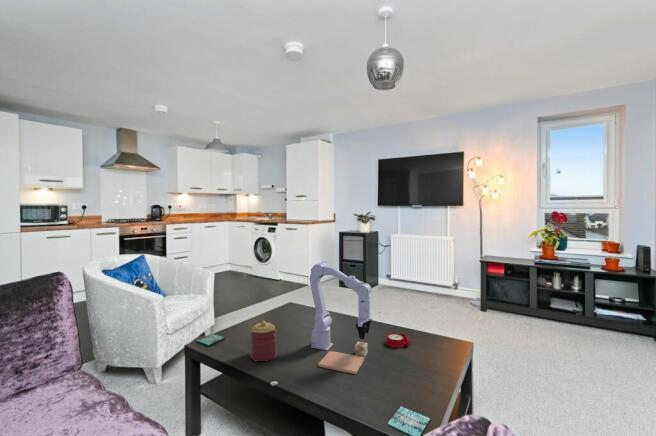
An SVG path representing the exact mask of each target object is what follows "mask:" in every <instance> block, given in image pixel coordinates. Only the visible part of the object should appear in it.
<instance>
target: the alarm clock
mask: <svg viewBox="0 0 656 436" xmlns="http://www.w3.org/2000/svg"><path fill="white" fill-rule="evenodd" d="M383 337H384V338H386V340H385V343H384V344H385V345H387V346H389V347H390V348H397V349H398V348H399V349H400V348H404V347H409V346H410V343H412V342H414V339H413V338H411V337H409V336H407V335H406V334H405V333H401V334H400V333H397V332H391V333H387V334H386V336H385V335H383ZM410 339H411V341H410Z"/></svg>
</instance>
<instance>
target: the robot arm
mask: <svg viewBox="0 0 656 436" xmlns="http://www.w3.org/2000/svg"><path fill="white" fill-rule="evenodd" d="M325 276H332V277H334V278H336V279H338V280H340V281H341V282H344V286H345V287H347V288H349V289H350V290H352V291H353V292H355V293H356V294H357V297H358V300H357V301H358V305H357V307H358V314H357V315H358V317H357V321H358V322H357V323H355V328H356V330H357V334H358V337H359V339H361V340H365V337H366V334H369V332H370V327H371V323H372V321H373V317H371V293H372V286H371V285H370V284H369V283H367V282H364V281H361V280H359V279H357V278H356V276H355V275H349V276H348V275H346V274H345V273H343V272H342V271H340V270H339V269H337V268H336V267H334V266H333V264H331V263H328V262H327V261H321V262H319V263H315V264H314V265H313V266H312V267H311V269H310V275H309V284H310V289H311V293H312V299H313V303H314V308H315V309H314V310H315V315H314V324H313V325H314V327H313V329H312V331H311V345H310V348H314V349H319V350H324V351H329V349H330V348H331V347H332V346H333V345H334V343H333V342H331V325H332V323H333V318H332V316H331V315H330V312H329V311H328V310H327V307H326V303H325V298H324V294H323V293H324V292H323V288H322V283H321V280H322V278H324V277H325Z"/></svg>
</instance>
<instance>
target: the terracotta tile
mask: <svg viewBox="0 0 656 436" xmlns="http://www.w3.org/2000/svg"><path fill="white" fill-rule="evenodd" d="M364 361H365V357H361V356H355V354H354V355H353V354H350V353H349V354H347V353H344V352H338V351H333V350H328V353H326V354H325V356H324V357H323V358H322V359H321V360H320V361H319V362H318V364H317V366H318V367H319V368H323V369H329V370H333V371H339V372H342V373H348V374H352V375H356V374H357V373H358V371H359V369H360V368H361V367H362V364H363V363H364Z"/></svg>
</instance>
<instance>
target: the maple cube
mask: <svg viewBox="0 0 656 436" xmlns="http://www.w3.org/2000/svg"><path fill="white" fill-rule="evenodd" d="M368 345H369V344H368V342H365V341H364V342H363V341H357V342H356V343H355V345H354V355H355V356H360V357H364V358H366V357H367V354H368V350H369V349H368V347H369V346H368Z"/></svg>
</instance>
